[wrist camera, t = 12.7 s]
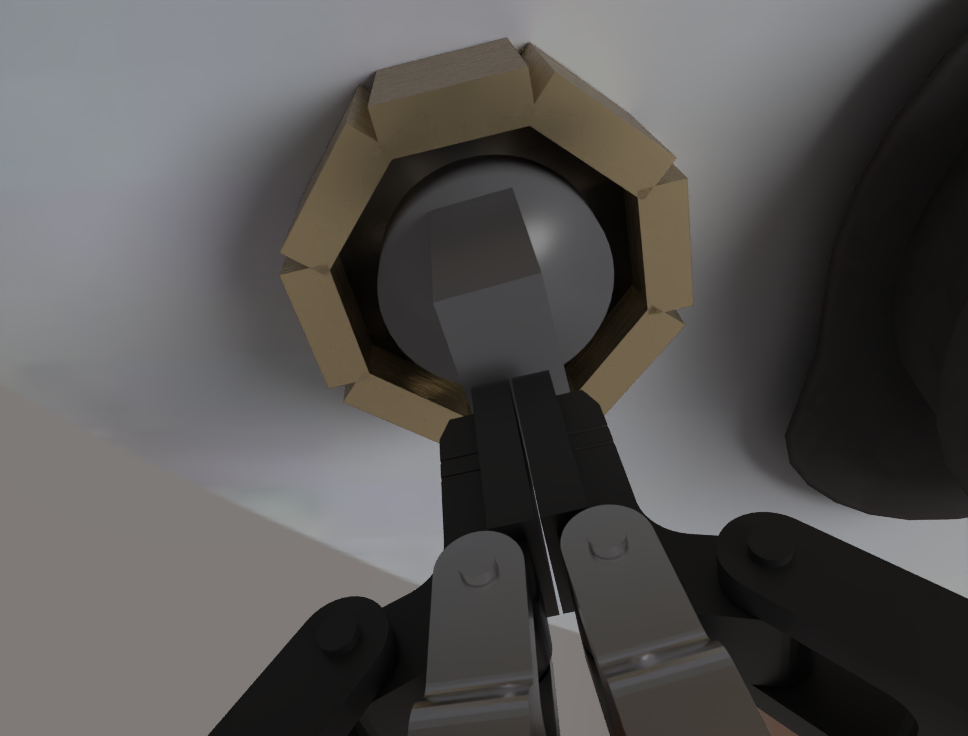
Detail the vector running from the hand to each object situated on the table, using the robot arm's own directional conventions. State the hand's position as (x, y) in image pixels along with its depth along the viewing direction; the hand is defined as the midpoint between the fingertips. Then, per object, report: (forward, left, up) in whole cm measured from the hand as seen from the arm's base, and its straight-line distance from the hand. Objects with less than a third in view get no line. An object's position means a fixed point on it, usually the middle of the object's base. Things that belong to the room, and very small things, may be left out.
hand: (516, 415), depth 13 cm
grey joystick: (0, 0, -7) cm, 7 cm away
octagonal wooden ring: (0, 0, -9) cm, 9 cm away
